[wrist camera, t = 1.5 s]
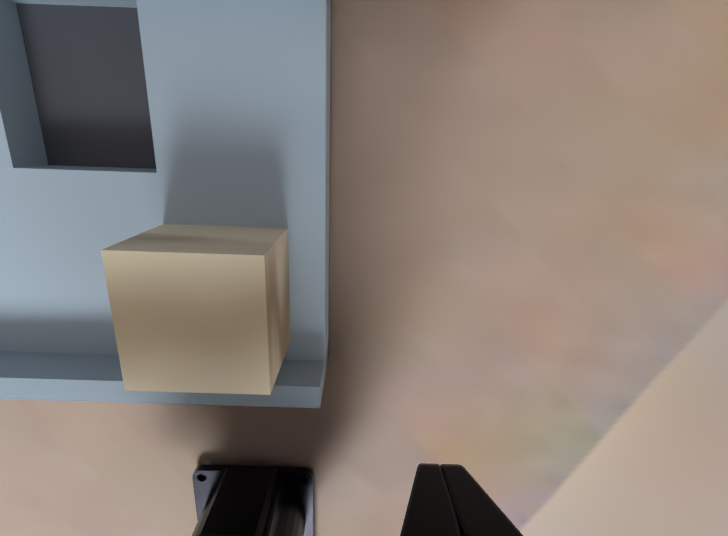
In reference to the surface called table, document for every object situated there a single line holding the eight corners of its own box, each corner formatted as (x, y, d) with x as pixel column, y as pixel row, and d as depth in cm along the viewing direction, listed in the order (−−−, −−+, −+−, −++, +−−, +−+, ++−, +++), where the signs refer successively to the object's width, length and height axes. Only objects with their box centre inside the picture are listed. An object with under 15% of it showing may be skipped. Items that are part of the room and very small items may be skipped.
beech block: (290, 339, 18) (270, 394, 14) (176, 336, 18) (124, 390, 14) (288, 228, 16) (264, 255, 12) (163, 224, 16) (100, 250, 12)
